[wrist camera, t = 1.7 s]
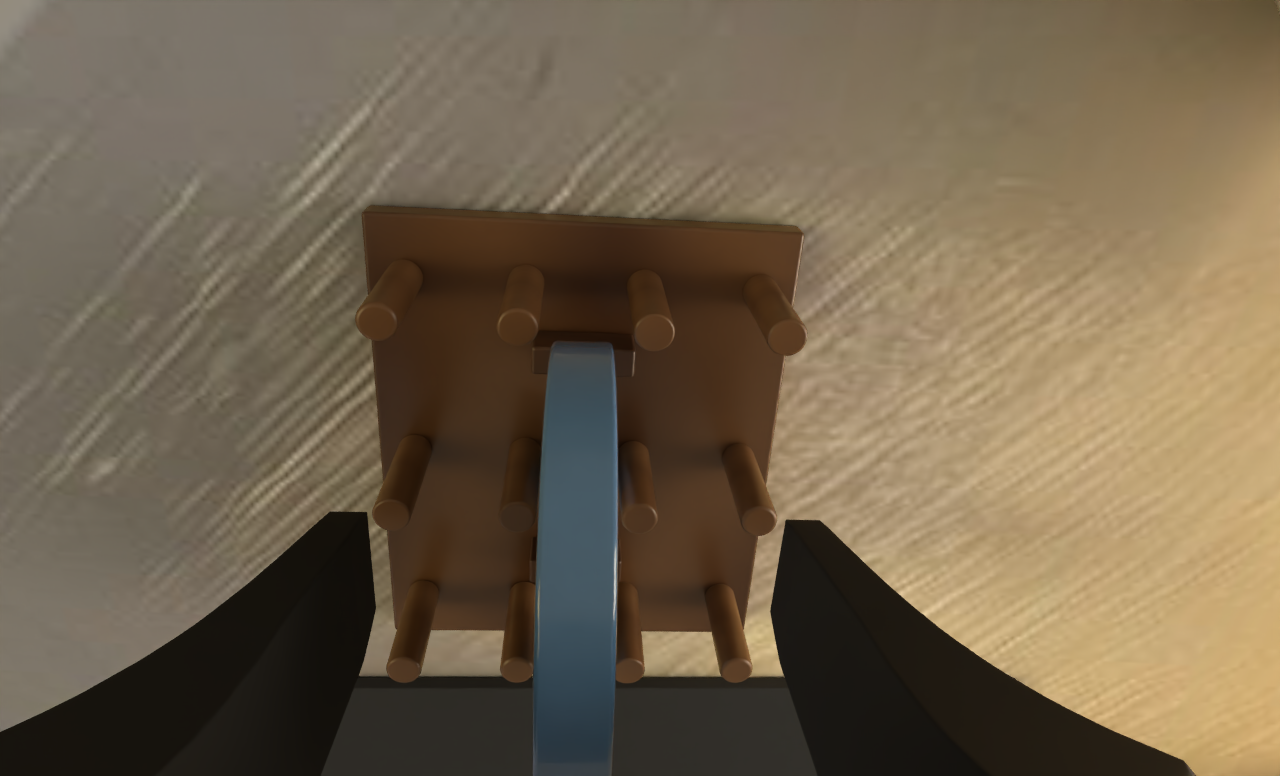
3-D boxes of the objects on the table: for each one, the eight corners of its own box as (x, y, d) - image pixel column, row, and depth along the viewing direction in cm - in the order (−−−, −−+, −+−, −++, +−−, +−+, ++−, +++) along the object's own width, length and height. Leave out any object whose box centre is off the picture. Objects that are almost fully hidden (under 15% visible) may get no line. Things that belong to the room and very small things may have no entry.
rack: (399, 614, 20) (369, 714, 17) (367, 204, 16) (321, 249, 13) (739, 616, 21) (764, 713, 18) (798, 225, 16) (843, 273, 14)
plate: (553, 602, 19) (530, 975, 12) (555, 274, 16) (524, 523, 8) (600, 603, 19) (605, 973, 12) (613, 276, 16) (630, 523, 9)
